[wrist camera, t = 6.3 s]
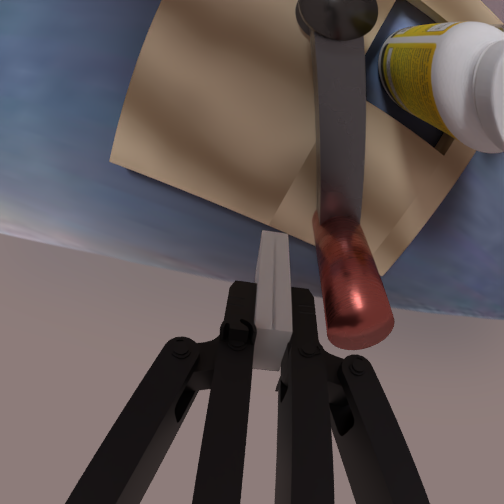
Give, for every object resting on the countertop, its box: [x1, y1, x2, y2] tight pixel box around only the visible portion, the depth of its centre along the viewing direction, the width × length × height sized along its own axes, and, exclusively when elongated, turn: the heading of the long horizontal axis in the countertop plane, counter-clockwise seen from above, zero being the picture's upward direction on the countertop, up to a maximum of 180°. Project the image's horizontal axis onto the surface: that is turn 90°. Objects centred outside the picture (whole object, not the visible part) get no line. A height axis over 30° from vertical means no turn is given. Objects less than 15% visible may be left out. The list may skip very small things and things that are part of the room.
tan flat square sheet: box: [109, 0, 504, 276], centre depth 15 cm, size 22×22×2 cm
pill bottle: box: [378, 21, 504, 153], centre depth 10 cm, size 6×6×11 cm
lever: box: [298, 0, 394, 350], centre depth 12 cm, size 16×4×9 cm, turn 6°
